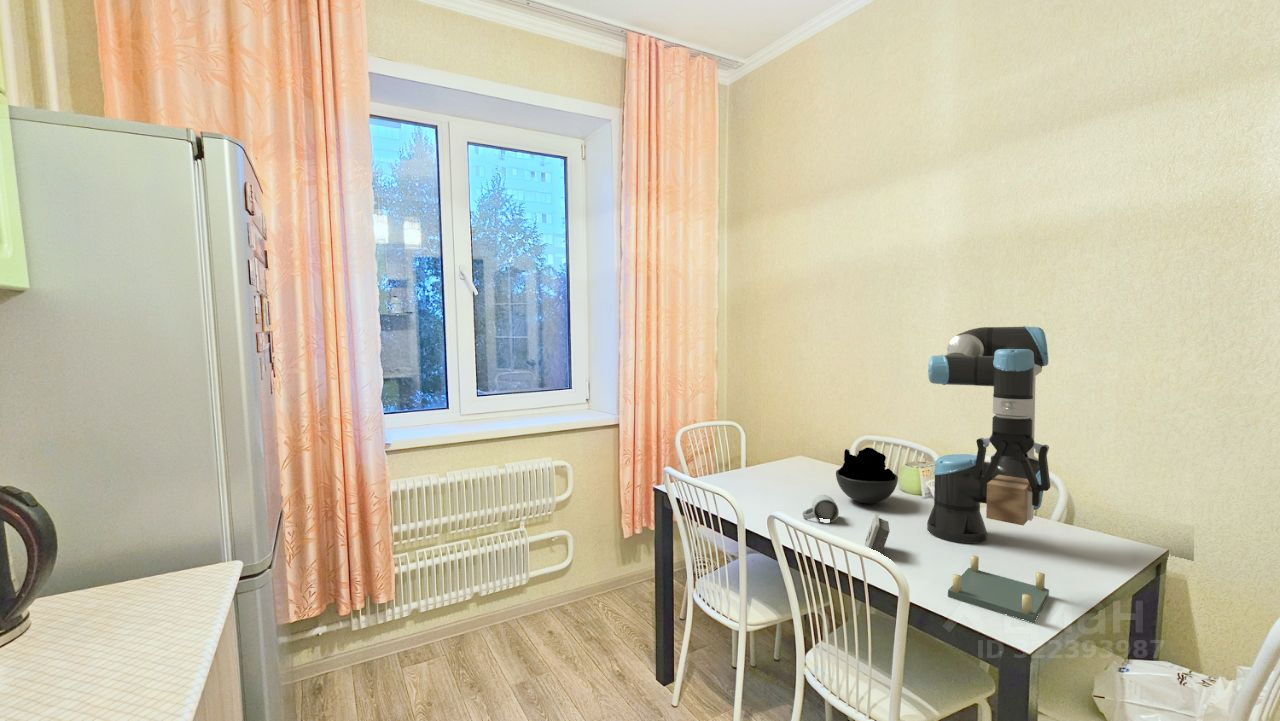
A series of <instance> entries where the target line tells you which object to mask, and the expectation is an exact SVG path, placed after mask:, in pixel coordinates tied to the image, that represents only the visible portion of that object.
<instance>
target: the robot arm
mask: <svg viewBox="0 0 1280 721" xmlns="http://www.w3.org/2000/svg"><path fill="white" fill-rule="evenodd" d="M1048 350H1049V349H1048V344H1047V337H1046V333H1045V331H1044V329H1043V328H1041V327H1039V326H1026V325H1023V326H993V327H992V326H983V327H976V328H971V329H968V330H965V331H963V332H960V333H957V335H954V337H952V338H951V340H950V341H949V343H948V344H947V348H946V353H945V355H944V354H940V355H932V356H930V357H929V359H928V367H927V375H928V381H929V382H930V383H931V384H934V385H935V384H937V385H943V386H946V385H947V386H948V385H949V386H950V385H951V386H954V385H955V386H956V385H957V386H979V387H981V386H982V387H993V394H992V413H993V414H994V415H993V417H992V422H991V423H992V425H991V426H992V427H991V428H992V429H991V430H992V432H991V435H990V437H985V438H984V437H979V438H977V439H976V442H975V443H976V446H977V453H976V454H968V453H955V454H946V455H942V456H939V457H938V458H937V459H936V460H935V462H934V472H933V474H934V489H933V490H934V495H933V496H934V498H933V500H934V501H933V507H932V509H931V512H930V514H929V517H928V519H927V522H926V529H927V531H929V532H930V535H932V534H933V535H932V536H934V535H935V537H937V538H939V539H942V540H945V541H949V542H953V541H954V543H962V544H978V543H979V544H980V543H984V542H985V541H987V539H988V538H987V536H988V535H987V534H988V533H987V527H986V525H985V522H984V519H983V516H982V513H981V504H986V505H987V483H988V482H990V481H991V480H992V479H994V478H995V477H996V476H997V475H1005V476H1011V477H1018V478H1024V479H1028V481H1029V484H1030V486H1031V489H1030V490H1029V491H1028V507H1027V520H1028V521H1029V522H1032V520H1033V519H1034V511H1036V510H1037V511H1038V510H1039V509H1040V508H1041V506H1042V502H1043V496H1044V492H1047V491H1048V490H1049V489H1051V481H1050V479H1051V478H1050V471H1049V463H1048V456H1047V455H1048V453H1049V449H1050V446H1049V445H1048V444H1040V443H1039V442H1038V443H1037V442H1035V427H1036V426H1035V425H1036V424H1035V422H1036V419H1035V418H1036V378H1037V377H1036V376H1038V375H1039V374H1041V373H1042V371H1043V367H1045V366H1048V365H1049V352H1048ZM990 443H991V445H992V446H993V448H994V449H995V453H993V454H992V455H991V456H990V462H986V461H985V460H986V454H987V448H988V447H989V446H990ZM1035 453H1036V454H1037V456H1038V457H1037V456H1035ZM929 532H928V533H929Z"/></svg>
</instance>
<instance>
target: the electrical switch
mask: <svg viewBox="0 0 1280 721" xmlns="http://www.w3.org/2000/svg"><path fill="white" fill-rule="evenodd" d="M871 520H872V521H871V523H870V526H869V529H868V531H867V534H866V538H865V542H864V547H865V546H866V547H869V548H871V549H873V550H876V551H878V552H880V553H882V554H883V551H884V549H885V545H886V543H887V540H888V537H889V533H890V532H891V531H890V526H889V525H890V523H889V520H885V519H883V518H882V517H881V518H880V517H879V514H877V513H875V514H874V515H873V518H872V519H871Z"/></svg>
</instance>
